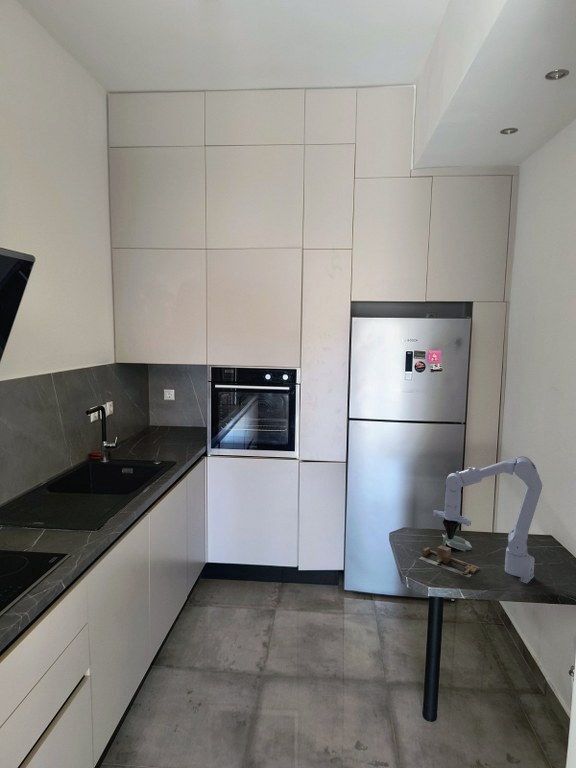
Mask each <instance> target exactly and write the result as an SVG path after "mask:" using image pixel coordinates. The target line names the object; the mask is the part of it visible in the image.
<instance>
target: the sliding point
mask: <svg viewBox="0 0 576 768" xmlns="http://www.w3.org/2000/svg"><path fill="white" fill-rule="evenodd" d="M436 552H437V555H436V562H438V563H445V564H448V563H449V562H450V561H451V560H450V557H451V555H452V547H448V546H446V545H445V546H444V545H443V544H441V545H439V546H437V551H436Z"/></svg>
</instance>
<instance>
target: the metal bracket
mask: <svg viewBox="0 0 576 768" xmlns="http://www.w3.org/2000/svg"><path fill="white" fill-rule="evenodd" d="M442 537H443V539H442V546H445V547H446V545H447V547H448V546H449V547H450V548H454V549H457V550H460V551H462V552H467V551H470V550H471V548H473V547H472V545H471V543H470V542H469V541H468V540H466V539H465V538H463V537H460V536H457V535H454V537H453V539H451V540H450V539H448V537H447V532H446V533H445V534H443V533H442Z"/></svg>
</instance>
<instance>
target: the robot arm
mask: <svg viewBox="0 0 576 768" xmlns="http://www.w3.org/2000/svg"><path fill="white" fill-rule="evenodd" d="M500 474H509V475H511V476H514V474H515V475H516V476H517V477H518V479H520V480H522V481H523V482H524V484H525V485H526V489H525V493H524V495H523V499H522V502H521V504H520V509H519V510H518V511H519V512H518V515H517V518H516V520H515V521H516V522H515V524H514V525H513V528H512V530H511V531H510V532H509V533H508V535H507V540H508V543H507V546H506V547H505V548H506V549H505V560H504V571H505V573H507V574H509V575H511V576H515V577H519V578H518V580H517V581H518V582H521V583H523V584H528V583H529V582H530V581H531V580H533V578H534V577H535V575H534V572H535V570H534V569H535V557H534V556H532V555H530V554H529V552H528V545H527V543H528V542H527V541H528V537H529V531H530V529H531V524H532V522H533V518H534V515H535V512H536V509H537V507H538V506H537V505H538V502H539V499H540V496H541V493H542V489H543V482H542V480H541V478H540V474H539V473H538V469H537V467H536V465H535V463H534V462H533V461H532V460H531V459H530V458H529V457H527V456H522V455H521V456H518V457H512V458H508V459H506V460H504V461H499V462H497V463H494V464H491V465H488V466H486V467H485V466H484V467H483V468H479V467H478V468H477V467H472V466H469V467H467V469H465V470H461V471H458V470H457V471H456V472H452V473H449V474H448V476H447V477H446V480H445V486H446V488H445V494H444V495H445V498H444V511H441V510H437V509H435V510H433V512H432V514H433V515H432V517H438V518H441V519H443V520H442V524H443V526H444V528H445V531H446V533H447V537H448V539H450V540H451V539H453V537H454V536H455V533H456V531H457V530H458V527H459V526H460V525H461V524H462V525H464V526H465V525H466V526H467V527H470V526H471V525H472V520H471V519H469V518H467V517H464V516H462V515H461V504H462V503H461V501H462V493H461V490H462V487H464V488H465V487H468V486H472V485H475V484H478V483H481V482H482V480H483V479H484V478H488V477H492V476H495V475H500Z"/></svg>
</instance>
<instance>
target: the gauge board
mask: <svg viewBox="0 0 576 768" xmlns="http://www.w3.org/2000/svg"><path fill="white" fill-rule="evenodd" d="M421 553H422V554H421V555H422V556H420V557H419V558H418V560H421V561H423V562H426V563H429V564H431V565H433V566H436V567H440V568H442V569H444V570H448V571H449V572H453V573H455V574H458V575H461V576H463V577H465V578H470V577H471V576H473V574H474V573H476V572H477V571H479V570H480V566H477V565H474V564H471V563H468V562H465V561H462V560H461V559H460V560H459V559H456V558H454V557H451V556H450V561H451V562H454V563H457V564H459V565H463V566H464V568H463V571H461V570H458V569H456V568H453V567H451V566H448V565H445V564H443V563H441V562H439V563H438V562H437V561H434V560H432V559H429V558H426V556H429V554H432V555H435V556H437V551H434V550H431V547H429V546H428V547H425V548H423V549H422V552H421ZM470 573H471V574H470Z"/></svg>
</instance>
